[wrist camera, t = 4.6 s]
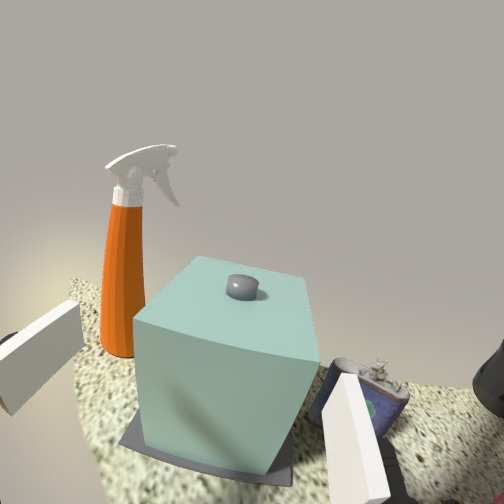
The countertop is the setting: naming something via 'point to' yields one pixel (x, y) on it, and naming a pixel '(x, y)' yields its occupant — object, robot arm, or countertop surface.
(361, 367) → the flask
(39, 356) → the robot arm
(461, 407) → the countertop surface
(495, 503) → the plant pot
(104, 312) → the spray bottle
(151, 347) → the box
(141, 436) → the rubber mat
